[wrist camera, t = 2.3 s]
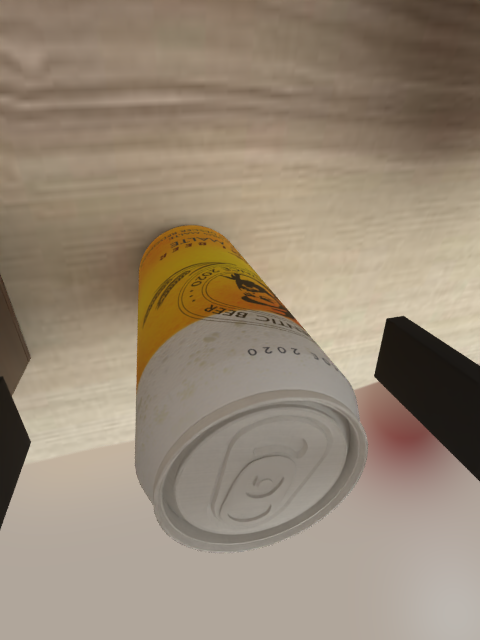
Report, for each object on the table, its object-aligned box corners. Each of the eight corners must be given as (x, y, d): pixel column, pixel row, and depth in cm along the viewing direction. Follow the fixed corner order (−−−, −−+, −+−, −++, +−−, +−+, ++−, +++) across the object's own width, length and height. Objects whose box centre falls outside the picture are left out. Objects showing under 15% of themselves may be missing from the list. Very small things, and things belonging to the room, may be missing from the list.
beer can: (252, 240, 21) (427, 401, 8) (219, 324, 23) (316, 557, 10) (154, 206, 19) (182, 358, 6) (128, 304, 21) (106, 570, 8)
